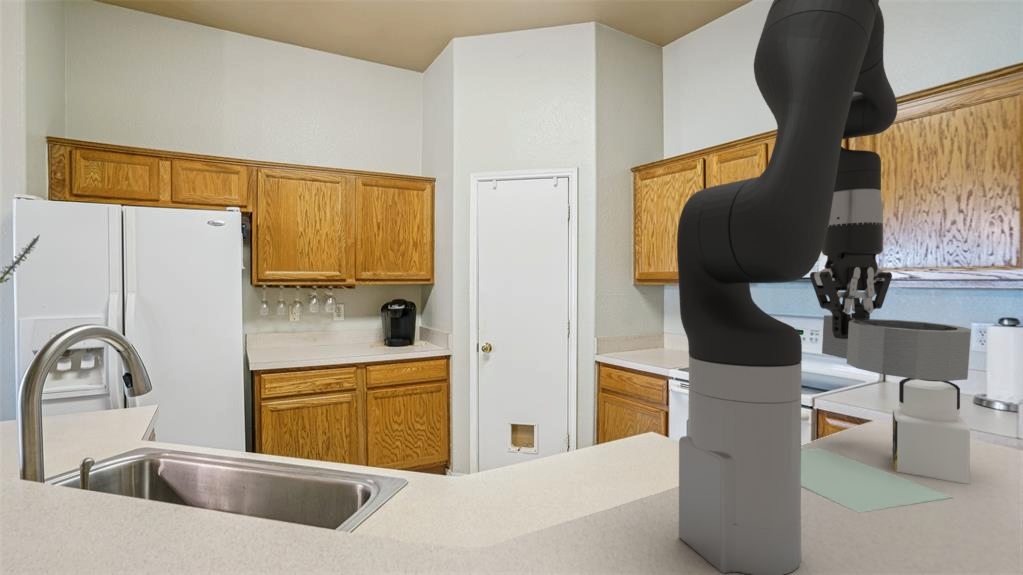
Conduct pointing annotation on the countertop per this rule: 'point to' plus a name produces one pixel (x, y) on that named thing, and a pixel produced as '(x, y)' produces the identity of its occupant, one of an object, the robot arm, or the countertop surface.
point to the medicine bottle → (931, 431)
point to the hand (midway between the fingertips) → (851, 337)
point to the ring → (902, 348)
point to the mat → (859, 483)
